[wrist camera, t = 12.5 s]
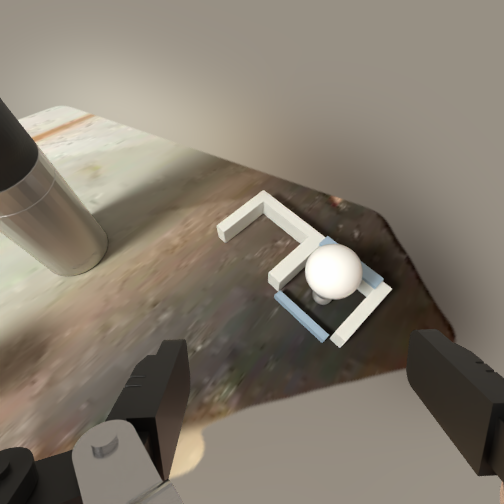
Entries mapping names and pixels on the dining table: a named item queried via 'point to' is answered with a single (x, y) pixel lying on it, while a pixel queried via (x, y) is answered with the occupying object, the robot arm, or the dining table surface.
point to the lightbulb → (333, 272)
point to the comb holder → (303, 263)
